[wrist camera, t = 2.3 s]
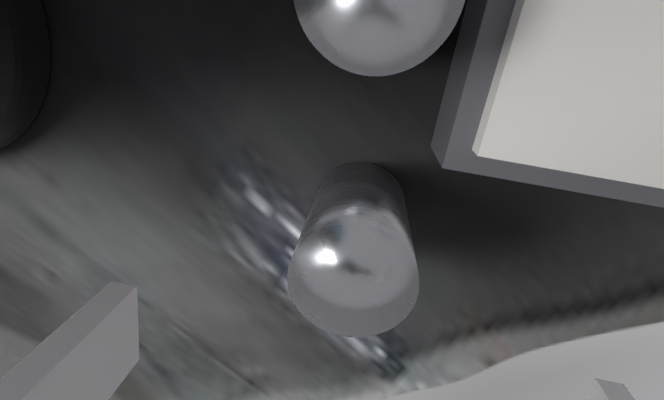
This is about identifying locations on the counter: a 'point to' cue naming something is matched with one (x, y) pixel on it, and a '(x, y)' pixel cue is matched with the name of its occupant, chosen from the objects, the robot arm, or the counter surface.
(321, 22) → the cylinder
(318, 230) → the cylinder
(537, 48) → the scale
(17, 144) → the counter surface
